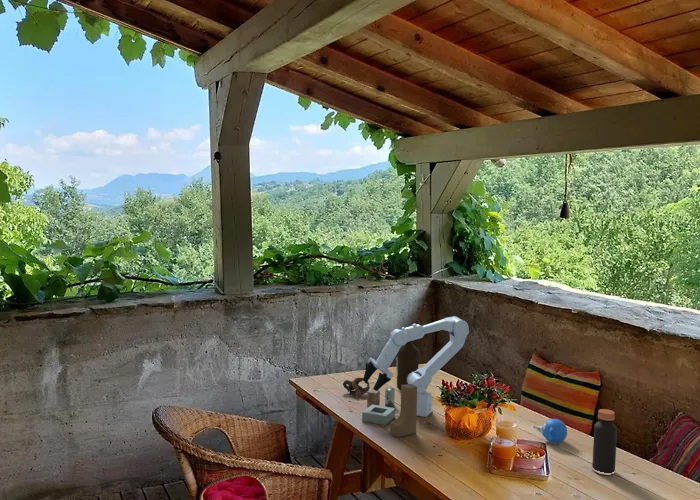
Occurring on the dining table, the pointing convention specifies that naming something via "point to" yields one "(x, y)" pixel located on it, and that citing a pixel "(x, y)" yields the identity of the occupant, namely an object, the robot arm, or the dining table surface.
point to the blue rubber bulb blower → (553, 430)
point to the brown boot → (406, 412)
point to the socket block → (378, 414)
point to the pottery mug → (356, 386)
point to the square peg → (373, 398)
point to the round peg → (389, 397)
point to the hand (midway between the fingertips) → (369, 385)
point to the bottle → (605, 442)
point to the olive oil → (406, 362)
